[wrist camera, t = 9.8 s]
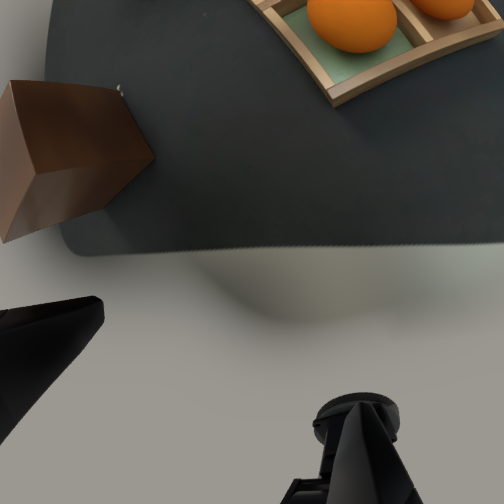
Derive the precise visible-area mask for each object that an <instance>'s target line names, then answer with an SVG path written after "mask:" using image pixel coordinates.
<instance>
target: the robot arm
mask: <svg viewBox="0 0 504 504" xmlns="http://www.w3.org/2000/svg"><path fill="white" fill-rule="evenodd" d="M104 319H105V317H104V304H103V301H102V300H101V299H99V298H98V297H96V296H87V297H81V298H75V299H69V300H63V301H57V302H51V303H44V304H38V305H32V306H26V307H19V308H13V309H9V310H8V309H6V310H0V445H1V444H2V442H3V441H4V440H5V439H6V437H7V436H8V435H9V434H10V433H11V431H12V430H13V429H14V428H15V426H16V425H17V424H18V422H19V421H20V420H21V419H22V418H23V417H24V415H25V414H26V413H27V412H28V410H30V408H31V407H32V406H33V405H34V404H35V403H36V402H37V400H38V399H39V398H40V397H41V396H42V395H43V393H44V392H45V391H46V390H47V389H48V388H49V387H50V385H52V383H53V382H54V381H55V380H56V379H57V378H58V377H59V376H60V375H61V374H62V372H63V371H64V370H65V369H66V368H67V367H68V366H69V365H70V364H71V363H72V362H73V361H74V359H75V358H76V357H77V356H78V355H79V354H80V353H81V352H82V350H83V349H84V348H85V347H86V345H87V344H88V342H89V341H90V340H91V339H92V337H93V336H94V335H95V333H96V332H97V331H98V330H99V328H100V327H101V326H102V324H103V323H104ZM313 427H314V429H315V430H316V431H317V432H318V434H319V435H320V436H321V438H322V439H323V440H324V442H325V444H324V450H323V456H322V461H321V466H320V471H319V477H318V478H317V479H294V480H293V482H292V484H291V486H290V487H289V489H288V491H287V493H286V494H285V497H284V498H283V500H282V502H281V503H280V504H423V502H422V500H421V498H420V496H419V494H418V492H417V490H416V488H414V484H413V482H412V481H411V479H410V476H409V474H408V472H407V470H406V469H405V466H404V465H403V463H402V461H401V459H400V457H399V455H398V453H397V451H396V449H395V447H394V445H393V443H394V442H396V441H397V435H396V432H395V430H394V428H393V426H392V423H391V421H390V419H389V417H388V414H387V412H386V410H385V408H384V406H383V404H382V403H374V404H371V403H368V402H364V401H358V402H357V403H356V404H355V406H354V407H353V408H352V410H350V411H347V412H343V413H339V414H335V415H331V416H327V417H323V418H319V419H315V420H314V421H313Z"/></svg>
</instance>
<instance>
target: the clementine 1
mask: <svg viewBox="0 0 504 504" xmlns="http://www.w3.org/2000/svg"><path fill="white" fill-rule="evenodd" d="M307 14H308V18H309V21H310V24H311V25H312V27H313V29H314V30H315V32H316V33H317V34H318V35H319V36H320V37H321V38H322V39H323V40H324V41H325V42H327V43H328V44H330V45H332V46H333V47H335V48H338V49H340V50H343V51H347V52H352V53H366V52H371V51H374V50H377V49H379V48H381V47H383V46H384V45H385V44H387V43H388V42H389V41H390V39H391V38H392V37H393V35H394V33H395V30H396V26H397V15H396V10H395V7H394V5H393V3H392V1H391V0H308V3H307Z"/></svg>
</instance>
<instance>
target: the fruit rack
mask: <svg viewBox="0 0 504 504" xmlns="http://www.w3.org/2000/svg"><path fill="white" fill-rule="evenodd" d="M246 1H247V2H248V3H249V4H250V5H251V6H252V7H253V8H254V9H255V10H256V11H257V12H258V13H259V14H260V15H261V16H262V17H263V18H264V19H265V21H266V22H267V23H268V24H269V25H270V26H271V27H272V28H273V30H274V31H275V32H276V33H277V34H278V35H279V36H280V38H281V39H282V40H283V41H284V42H285V44H286V45H287V46H288V47H289V48H290V50H291V51H292V52H293V53H294V55H295V56H296V57H297V58H298V60H299V61H300V62H301V64H302V65H303V66H304V68H305V69H306V70H307V72H308V73H309V74H310V76H311V77H312V78H313V80H314V81H315V82H316V84H317V85H318V87H319V88H320V89H321V91H322V92H323V94H324V95H325V97H326V98H327V100H328V101H329V102H330V104H331V105H332V107H333V108H335V107H337V106H339V105H341V104H343V103H344V102H346V101H348V100H350V99H352V98H354V97H356V96H358V95H360V94H362V93H364V92H366V91H368V90H370V89H372V88H374V87H376V86H378V85H380V84H382V83H384V82H386V81H388V80H390V79H392V78H394V77H396V76H399V75H401V74H403V73H405V72H407V71H410V70H412V69H414V68H416V67H419V66H421V65H423V64H425V63H428V62H430V61H433V60H435V59H437V58H440V57H442V56H445V55H447V54H450V53H452V52H455V51H458V50H460V49H463V48H466V47H468V46H471V45H474V44H477V43H480V42H483V41H486V40H489V39H492V38H493V37H494V36H496V35H497V34H499V33H500V32H501V31H503V30H504V21H503V20H502V19H501V17H500V16H499V14H498V13H497V12H496V10H495V9H494V8H493V6H492V5H491V4H490V3H489V1H488V0H475V1H474V5H473V8H472V10H471V11H470V12H469V13H468V14H467V15H466V16H465V17H463V18H460V19H456V20H442V19H438V18H435V17H432V16H430V15H428V14H426V13H424V12H423V11H421V10H420V9H418V8H417V7H416V6H415V5H414V4H413V3H412V2H411V1H410V0H391V1H392V3H393V5H394V7H395V10H396V15H397V26H396V30H395V33H394V35H393V37H392V38H391V39H390V41H389V42H388V43H387V44H385V45H384V46H383V47H381V48H379V49H377V50H374V51H371V52H366V53H352V52H347V51H343V50H340V49H338V48H335V47H333V46H332V45H330V44H328V43H327V42H325V41H324V40H323V39H322V38H321V37H320V36H319V35H318V34H317V33H316V32H315V30H314V29H313V27H312V25H311V24H310V21H309V18H308V14H307V3H308V0H246Z"/></svg>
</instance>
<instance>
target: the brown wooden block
mask: <svg viewBox="0 0 504 504" xmlns="http://www.w3.org/2000/svg"><path fill="white" fill-rule="evenodd" d="M154 159H155V156H154V155H153V153H152V151H151V149H150V148H149V146H148V144H147V142H146V140H145V139H144V137H143V135H142V133H141V131H140V130H139V128H138V126H137V124H136V122H135V121H134V119H133V117H132V115H131V113H130V111H129V109H128V108H127V106H126V104H125V102H124V100H123V98H122V96H121V95H120V93H119V91H118V90H113V89H106V88H100V87H93V86H86V85H78V84H69V83H59V82H47V81H30V80H10V81H9V82H8V84H7V86H6V88H5V90H4V93H3V95H2V97H1V99H0V237H1V239H2V242H3V243H7V242H9V241H12V240H14V239H17V238H19V237H22V236H25V235H27V234H30V233H32V232H35V231H38V230H41V229H43V228H46V227H49V226H52V225H55V224H58V223H61V222H63V221H66V220H69V219H72V218H75V217H78V216H82V215H85V214H88V213H91V212H94V211H97V210H101V209H103V208H104V207H105V206H106V205H107V204H108V203H109V202H110V201H111V200H112V199H113V198H114V197H115V196H116V195H117V194H118V193H119V192H120V191H121V190H122V189H123V188H124V187H125V186H126V185H127V184H128V183H129V182H130V181H131V180H132V179H134V178H135V177H136V176H137V175H138V174H139V173H140V172H141V171H142V170H143V169H144V168H145V167H147V166H148V165H149V164H150V163H151V162H152V161H153V160H154Z"/></svg>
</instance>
